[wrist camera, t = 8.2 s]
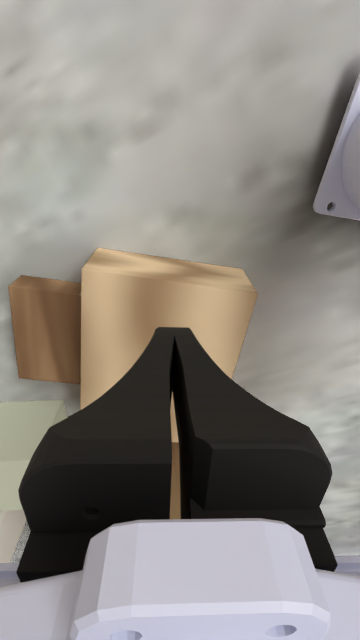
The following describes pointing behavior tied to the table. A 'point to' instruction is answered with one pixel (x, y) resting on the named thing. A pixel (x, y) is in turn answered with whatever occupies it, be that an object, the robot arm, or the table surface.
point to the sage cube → (22, 442)
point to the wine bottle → (10, 532)
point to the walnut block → (47, 328)
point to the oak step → (156, 313)
